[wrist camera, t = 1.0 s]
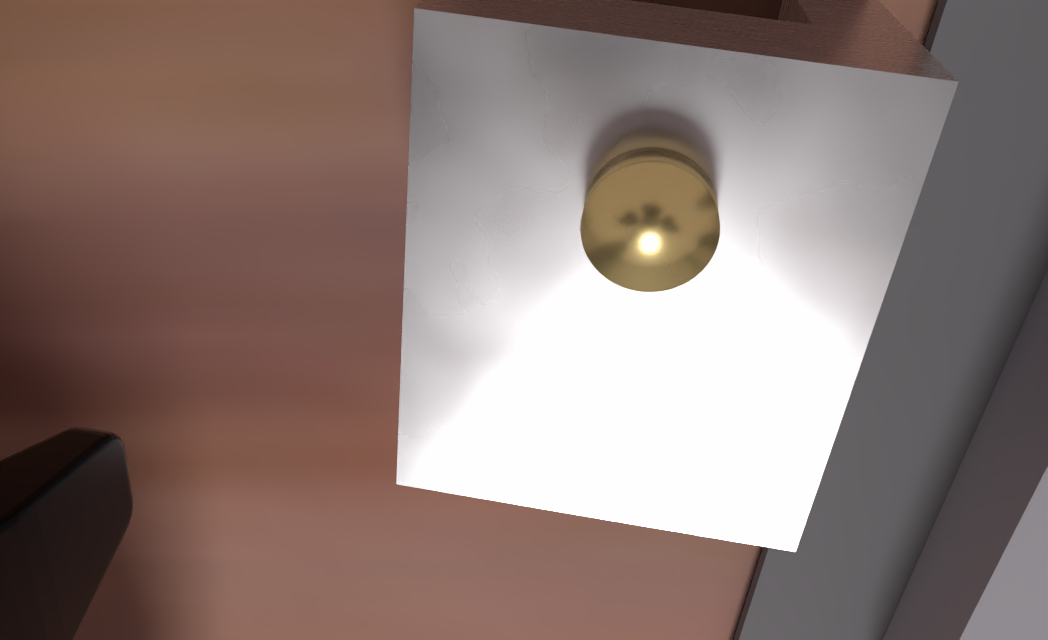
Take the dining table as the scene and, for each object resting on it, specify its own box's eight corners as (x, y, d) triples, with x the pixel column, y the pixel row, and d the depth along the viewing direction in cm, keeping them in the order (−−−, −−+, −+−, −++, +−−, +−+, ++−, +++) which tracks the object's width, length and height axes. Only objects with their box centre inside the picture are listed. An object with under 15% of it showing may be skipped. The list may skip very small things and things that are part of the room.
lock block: (764, 367, 18) (800, 581, 13) (460, 320, 18) (385, 511, 13) (870, -7, 14) (974, 97, 9) (489, -57, 15) (400, 19, 10)
